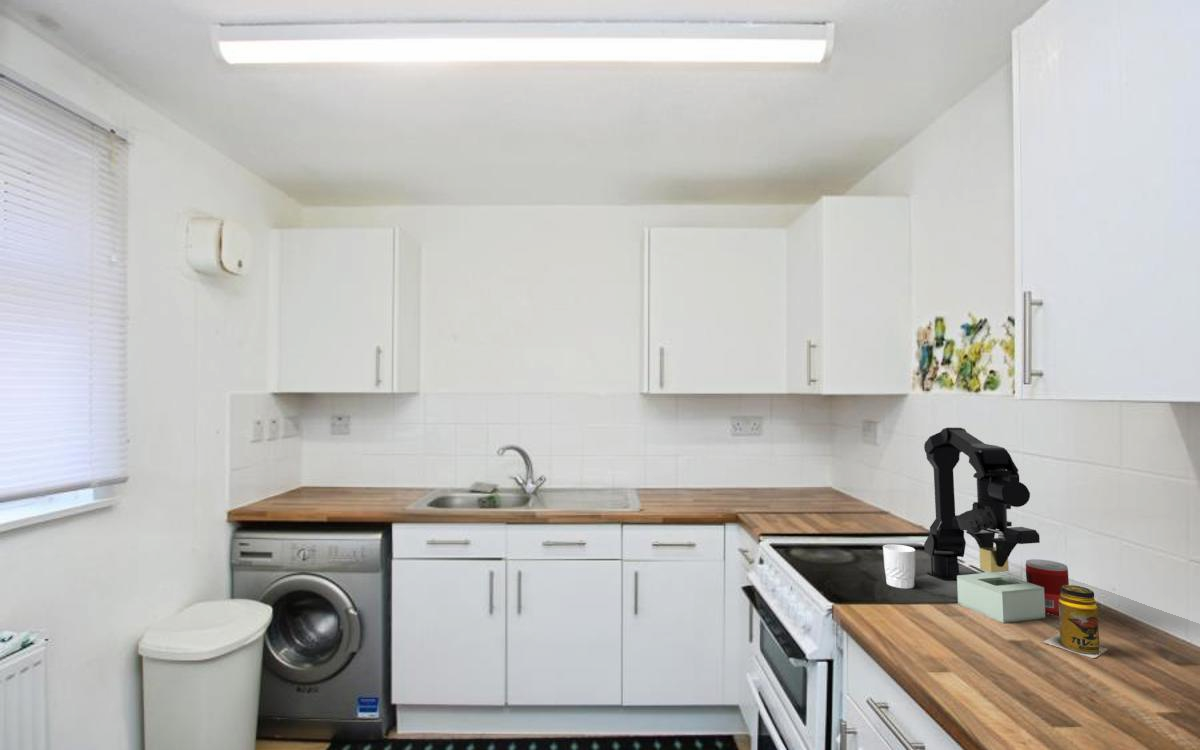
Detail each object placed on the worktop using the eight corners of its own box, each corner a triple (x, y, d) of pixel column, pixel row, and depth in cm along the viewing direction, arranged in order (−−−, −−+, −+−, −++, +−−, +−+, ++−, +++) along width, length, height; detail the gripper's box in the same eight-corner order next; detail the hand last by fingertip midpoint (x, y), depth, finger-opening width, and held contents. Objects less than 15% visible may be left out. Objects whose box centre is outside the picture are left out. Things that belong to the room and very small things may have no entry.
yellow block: (980, 568, 133) (979, 547, 133) (997, 567, 134) (996, 546, 134) (991, 572, 130) (990, 551, 130) (1008, 571, 131) (1007, 549, 131)
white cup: (891, 578, 156) (890, 542, 157) (921, 585, 150) (920, 548, 151) (878, 584, 151) (877, 547, 152) (909, 591, 145) (908, 553, 146)
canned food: (1078, 616, 128) (1076, 568, 129) (1044, 615, 128) (1041, 568, 129) (1052, 604, 136) (1050, 559, 137) (1019, 604, 136) (1017, 559, 137)
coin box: (958, 604, 136) (956, 575, 136) (997, 600, 139) (996, 572, 139) (1003, 623, 124) (1002, 591, 125) (1045, 618, 127) (1044, 587, 127)
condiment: (1094, 659, 107) (1091, 596, 107) (1042, 643, 114) (1039, 584, 115) (1108, 650, 111) (1105, 589, 111) (1056, 635, 118) (1054, 578, 119)
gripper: (932, 494, 140) (934, 556, 140) (999, 507, 122) (1002, 579, 121) (969, 492, 143) (971, 553, 142) (1040, 505, 125) (1043, 575, 124)
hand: (994, 564), depth 132 cm, fingers closed on yellow block, 3 cm apart
